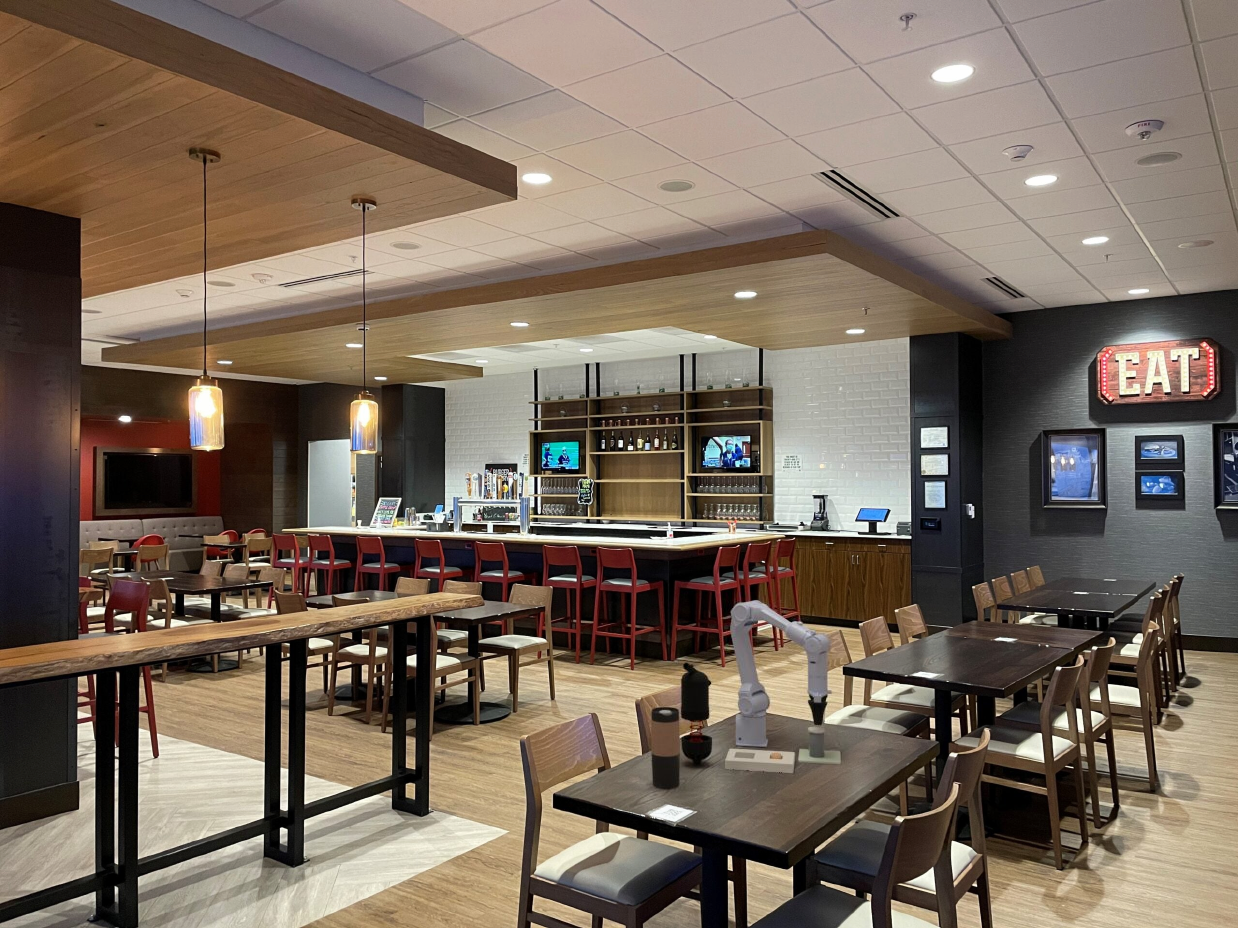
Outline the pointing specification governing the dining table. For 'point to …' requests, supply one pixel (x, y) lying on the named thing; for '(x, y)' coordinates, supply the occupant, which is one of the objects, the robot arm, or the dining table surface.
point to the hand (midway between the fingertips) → (818, 721)
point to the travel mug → (665, 747)
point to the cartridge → (816, 741)
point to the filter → (695, 713)
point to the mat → (829, 758)
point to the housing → (759, 761)
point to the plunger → (775, 756)
